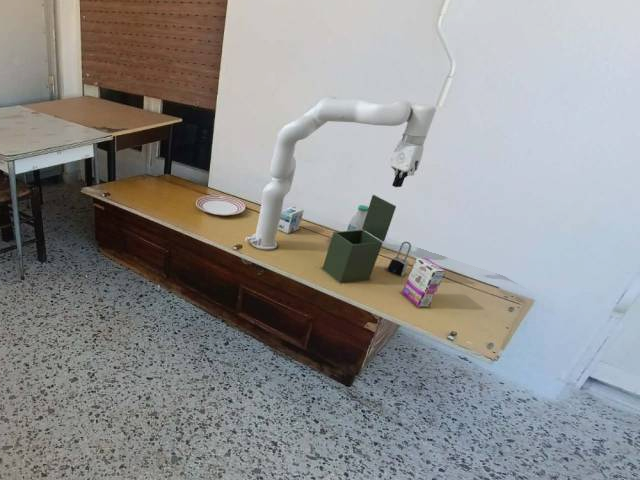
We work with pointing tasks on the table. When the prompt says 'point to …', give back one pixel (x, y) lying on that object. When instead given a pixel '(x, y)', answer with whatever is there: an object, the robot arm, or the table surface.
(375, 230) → the bin lid
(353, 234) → the bin
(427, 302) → the candy bar box
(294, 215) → the light bulb box
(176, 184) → the table surface
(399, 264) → the padlock
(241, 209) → the dinner plate
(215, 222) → the table surface
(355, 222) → the milk bottle
